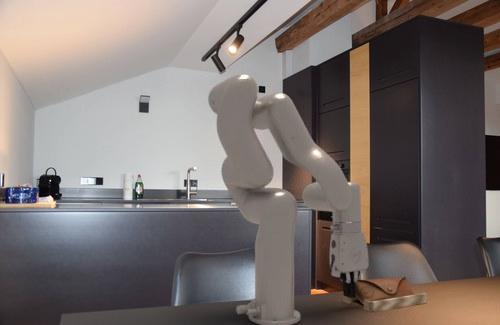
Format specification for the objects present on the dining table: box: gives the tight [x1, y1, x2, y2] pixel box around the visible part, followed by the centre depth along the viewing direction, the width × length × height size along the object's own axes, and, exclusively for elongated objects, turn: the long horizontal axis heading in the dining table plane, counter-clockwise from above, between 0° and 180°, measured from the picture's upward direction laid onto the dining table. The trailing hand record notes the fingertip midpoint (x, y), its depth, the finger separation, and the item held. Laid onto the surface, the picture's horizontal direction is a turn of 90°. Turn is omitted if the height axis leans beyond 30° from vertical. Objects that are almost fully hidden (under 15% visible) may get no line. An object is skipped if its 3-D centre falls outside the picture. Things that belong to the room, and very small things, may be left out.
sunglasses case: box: [355, 276, 415, 305], centre depth 123 cm, size 18×7×7 cm, turn 108°
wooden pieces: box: [341, 292, 427, 313], centre depth 121 cm, size 20×12×2 cm, turn 117°
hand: (349, 296), depth 115 cm, fingers closed
